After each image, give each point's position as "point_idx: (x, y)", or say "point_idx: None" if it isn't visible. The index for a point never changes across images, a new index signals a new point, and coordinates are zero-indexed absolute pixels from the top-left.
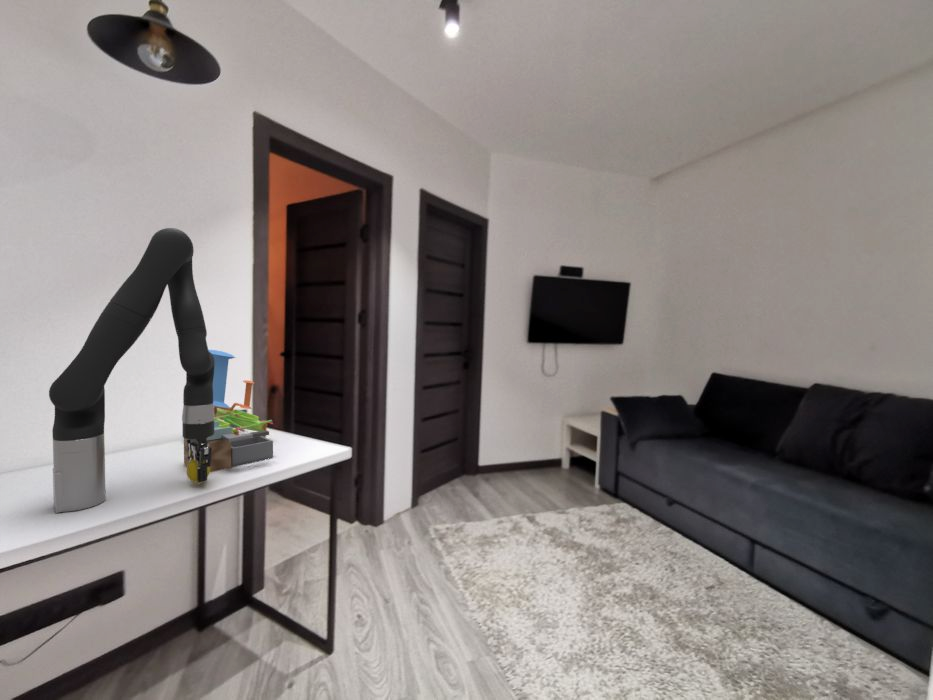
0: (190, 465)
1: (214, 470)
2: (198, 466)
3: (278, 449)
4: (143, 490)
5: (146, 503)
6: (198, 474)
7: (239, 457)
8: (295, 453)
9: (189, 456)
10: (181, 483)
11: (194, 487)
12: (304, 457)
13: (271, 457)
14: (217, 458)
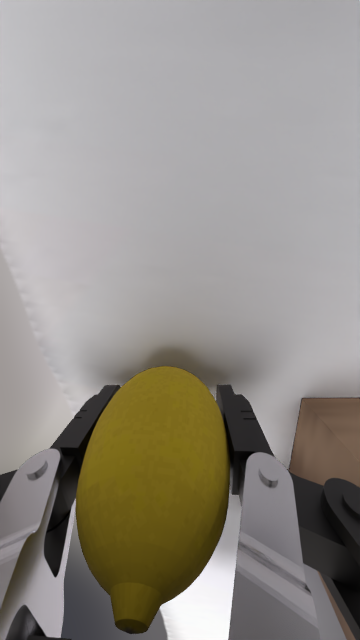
0: (114, 447)
1: (294, 455)
2: (13, 479)
3: None
4: (279, 164)
5: (56, 152)
6: (82, 416)
7: (304, 565)
8: None
9: (244, 568)
10: (240, 333)
11: (147, 359)
12: (207, 609)
13: None
14: None
